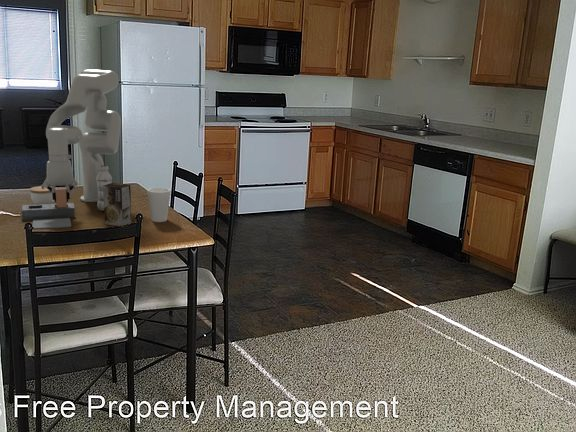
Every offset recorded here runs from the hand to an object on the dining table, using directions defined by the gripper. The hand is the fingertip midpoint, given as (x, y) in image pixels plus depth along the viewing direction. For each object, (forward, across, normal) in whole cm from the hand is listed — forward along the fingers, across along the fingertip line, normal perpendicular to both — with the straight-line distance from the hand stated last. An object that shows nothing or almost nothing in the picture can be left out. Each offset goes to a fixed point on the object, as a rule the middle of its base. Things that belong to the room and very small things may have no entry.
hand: (61, 200), depth 240 cm
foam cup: (+6, -38, +16) cm, 42 cm away
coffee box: (+6, -21, +18) cm, 28 cm away
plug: (+5, 0, +1) cm, 5 cm away
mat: (+6, +4, +13) cm, 15 cm away
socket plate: (+6, +5, 0) cm, 8 cm away
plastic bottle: (+6, -18, -4) cm, 19 cm away
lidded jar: (+7, +7, -19) cm, 21 cm away
